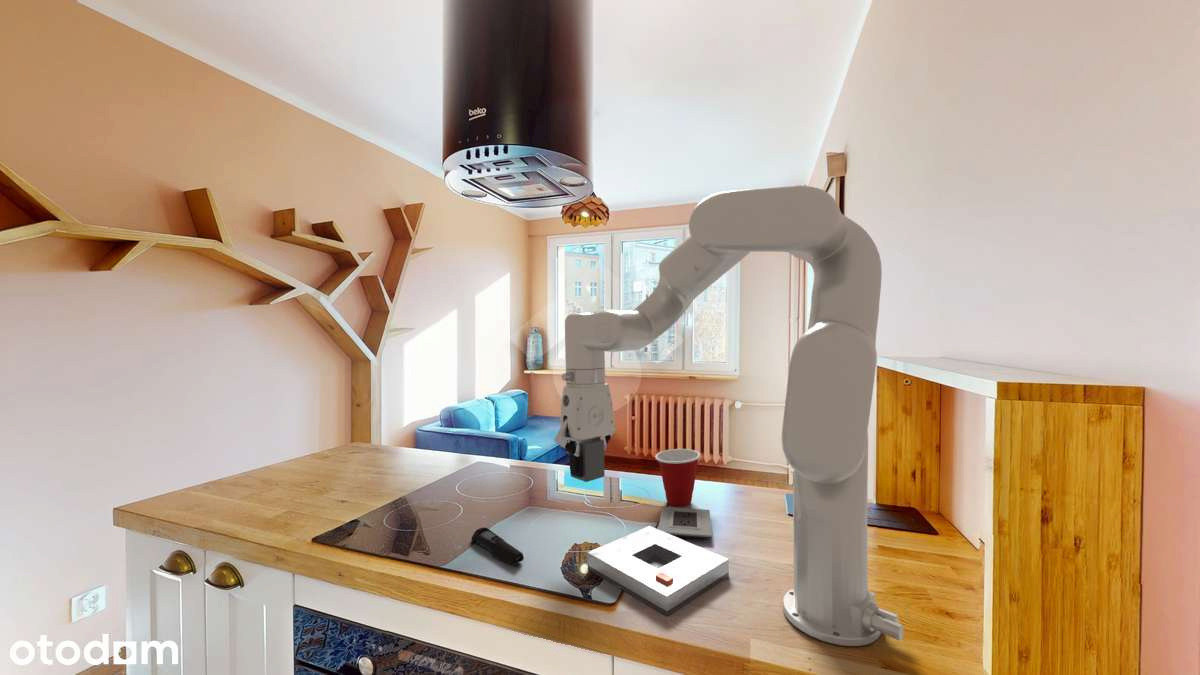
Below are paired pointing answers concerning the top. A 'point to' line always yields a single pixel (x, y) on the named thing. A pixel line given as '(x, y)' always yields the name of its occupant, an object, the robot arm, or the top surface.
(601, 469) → the block
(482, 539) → the electric trimmer
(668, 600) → the socket plate
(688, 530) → the electrical outlet
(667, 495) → the plastic cup
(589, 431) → the robot arm
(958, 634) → the top surface
